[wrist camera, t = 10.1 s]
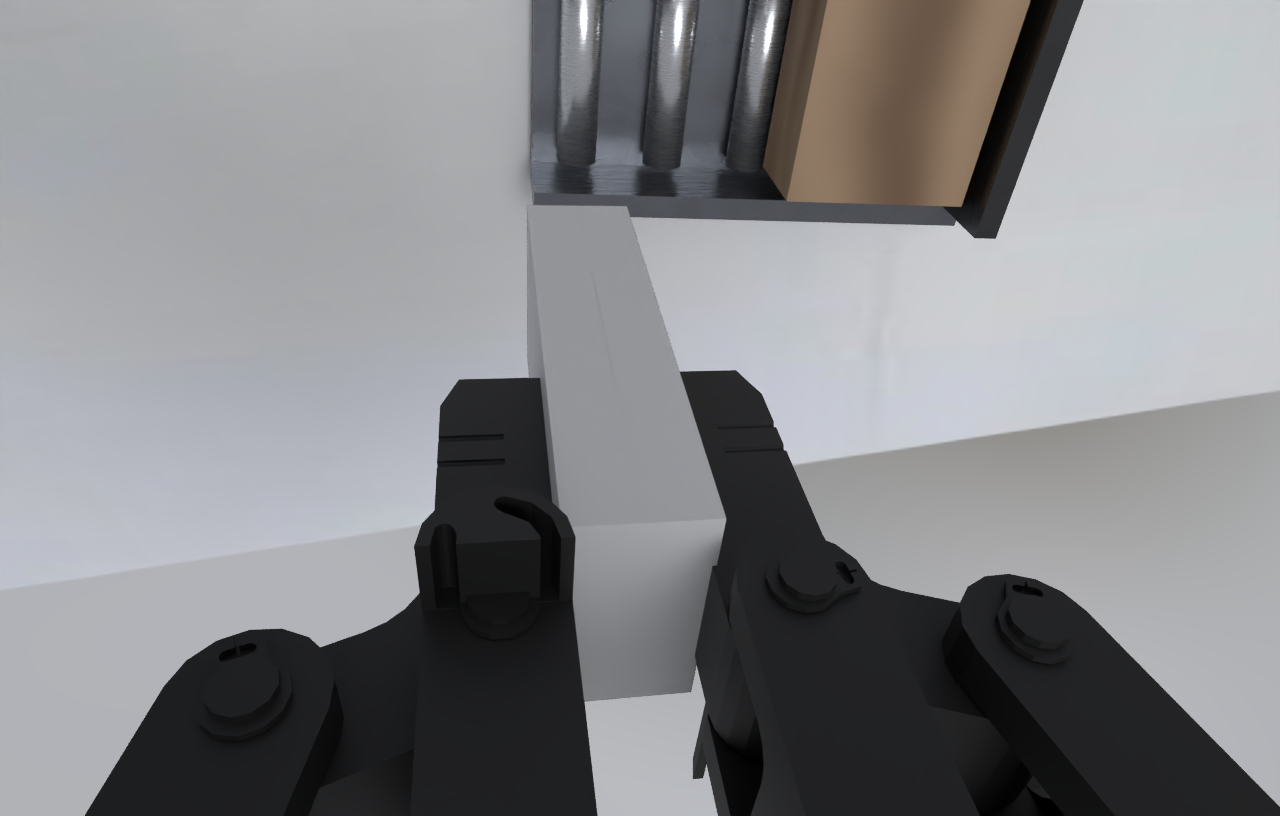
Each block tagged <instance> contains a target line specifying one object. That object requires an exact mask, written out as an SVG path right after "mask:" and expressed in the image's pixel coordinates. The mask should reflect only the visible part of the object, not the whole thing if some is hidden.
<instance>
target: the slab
mask: <svg viewBox="0 0 1280 816" xmlns="http://www.w3.org/2000/svg"><path fill="white" fill-rule="evenodd" d="M1030 1H1031V0H793V3H792V8H791V14H790V19H789V25H788V30H787V36H786V41H785V47H784V53H783V58H782V64H781V69H780V75H779V80H778V86H777V91H776V97H775V102H774V108H773V113H772V119H771V124H770V130H769V136H768V141H767V147H766V152H765V158H764V163H763V167H764V169H765V170H766V172H767V173H768V175H769V176H770V177H771V179H772V180H773V182H774V183H775V185H776V186H777V188H778V189H779V191H780V192H781V194H782V195H783V197H784V198H785V200H786V201H789V202H821V203H854V204H886V205H918V206H951V207H962V204H963V201H964V198H965V195H966V192H967V189H968V186H969V183H970V180H971V177H972V174H973V171H974V168H975V165H976V162H977V159H978V156H979V153H980V150H981V147H982V144H983V141H984V138H985V135H986V132H987V129H988V126H989V123H990V120H991V117H992V114H993V111H994V108H995V105H996V102H997V99H998V96H999V93H1000V90H1001V87H1002V84H1003V81H1004V78H1005V75H1006V72H1007V69H1008V66H1009V63H1010V60H1011V57H1012V54H1013V51H1014V48H1015V45H1016V42H1017V39H1018V37H1019V34H1020V31H1021V28H1022V25H1023V22H1024V19H1025V16H1026V13H1027V10H1028V7H1029V4H1030Z"/></svg>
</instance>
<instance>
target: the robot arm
mask: <svg viewBox="0 0 1280 816" xmlns="http://www.w3.org/2000/svg"><path fill="white" fill-rule="evenodd" d="M527 358H528V370H529V378H505V379H464V380H458V382H457V383H456V385H455V386H454V387H453V389H452V390H451V392H450V393H449V395H448V396H447V397H446V399H445V400H444V402H443V403H442V404H441V406H440V422H439V442H438V458H437V464H438V468H437V477H436V495H435V511H434V512H433V513H432V514H431V515H430V516H429V517H428V518H427V519H426V520H425V521H424V522H423V523H422V525H421V528H420V531H419V534H418V537H417V540H416V543H415V546H414V549H415V557H416V565H417V573H418V581H419V589H420V593H419V595H418V596H417V597H416V598H415V599H414V600H413V601H412V602H411V603H410V604H409V605H408V606H407V607H406V609H405V610H403V611H402V612H400V613H399V614H397V615H396V616H394V617H393V618H392V619H390V620H389V621H387V622H386V623H383V624H381V625H379V626H377V627H375V628H372V629H370V630H368V631H366V632H364V633H361V634H358V635H355V636H352V637H349V638H346V639H343V640H340V641H337V642H335V643H332V644H329V645H326V646H323V647H319V646H318V645H317V644H315V643H314V642H313V641H312V640H311V639H310V638H309V637H306V636H303V635H300V634H297V633H294V632H290V631H287V630H284V629H262V630H248V631H245V632H242V633H239V634H236V635H233V636H230V637H227V638H224V639H221V640H218V641H216V642H214V643H213V644H211V645H210V646H208V647H206V648H205V649H203V650H202V651H200V652H199V653H197V654H196V655H194V656H193V657H192V658H190V659H188V660H187V661H186V662H185V663H184V664H183V665H182V666H181V667H180V669H179V670H178V671H177V672H176V673H175V674H174V676H173V677H172V678H171V679H170V680H169V681H168V682H167V684H166V685H165V686H164V687H163V689H162V691H161V692H160V694H159V695H158V697H157V699H156V700H155V702H154V704H153V705H152V707H151V708H150V710H149V712H148V713H147V715H146V716H145V718H144V720H143V721H142V723H141V725H140V726H139V728H138V730H137V731H136V733H135V734H134V736H133V738H132V739H131V741H130V743H129V744H128V746H127V747H126V749H125V751H124V752H123V754H122V756H121V757H120V759H119V761H118V762H117V764H116V765H115V767H114V769H113V770H112V772H111V774H110V775H109V777H108V778H107V780H106V782H105V783H104V785H103V787H102V788H101V790H100V792H99V793H98V795H97V796H96V798H95V800H94V801H93V803H92V805H91V806H90V808H89V809H88V811H87V813H86V814H85V816H597V808H596V799H595V790H594V782H593V774H592V764H591V756H590V747H589V738H588V730H587V721H586V712H585V703H584V702H585V701H595V700H607V699H618V698H629V697H641V696H651V695H663V694H674V693H686V692H691V689H692V685H693V680H694V675H695V670H696V666H697V668H698V671H699V676H700V680H701V684H702V688H703V693H704V697H705V701H706V703H705V707H704V712H703V716H702V721H701V725H700V730H699V734H698V738H697V743H696V747H695V752H694V756H693V779H699V778H703V776H704V771H705V767H706V763H707V767H708V772H709V777H710V781H711V786H712V790H713V795H714V799H715V804H716V808H717V813H718V816H1280V807H1279V806H1278V805H1277V804H1276V803H1275V802H1274V801H1273V800H1272V799H1271V798H1270V797H1269V796H1268V795H1267V794H1266V793H1265V792H1264V791H1263V790H1262V789H1261V788H1260V787H1259V785H1258V784H1256V782H1255V781H1254V780H1252V779H1251V778H1250V776H1249V775H1248V774H1247V773H1246V772H1245V771H1244V770H1243V769H1242V768H1241V767H1240V766H1239V765H1238V764H1237V763H1236V762H1235V761H1234V760H1233V759H1232V758H1231V757H1230V756H1229V755H1228V754H1227V753H1226V752H1225V751H1224V750H1223V749H1222V748H1221V747H1220V746H1219V745H1218V744H1217V743H1216V742H1215V741H1214V740H1213V739H1212V738H1211V737H1210V736H1209V735H1208V734H1207V733H1206V732H1205V731H1204V730H1203V729H1202V728H1201V727H1200V726H1199V725H1198V724H1197V723H1196V722H1195V721H1194V720H1193V719H1192V718H1191V717H1190V716H1189V715H1188V714H1187V713H1186V711H1184V709H1183V708H1182V707H1181V706H1179V704H1178V703H1176V701H1175V700H1174V699H1173V698H1172V697H1171V696H1170V695H1169V694H1168V693H1167V692H1166V691H1165V690H1164V689H1163V688H1162V687H1161V686H1160V685H1159V684H1158V683H1157V682H1156V681H1155V680H1154V679H1153V678H1152V677H1151V676H1150V675H1149V674H1148V673H1147V672H1146V671H1145V670H1144V669H1143V668H1142V667H1141V666H1140V665H1139V664H1138V663H1137V662H1136V661H1135V660H1134V659H1133V658H1132V657H1131V656H1130V655H1129V654H1128V653H1127V652H1126V651H1125V650H1124V649H1123V648H1122V647H1121V646H1120V645H1119V644H1118V643H1117V642H1116V641H1115V640H1114V639H1113V638H1112V636H1111V635H1110V634H1108V633H1107V631H1106V630H1105V629H1104V628H1102V626H1101V625H1100V624H1099V623H1098V622H1097V621H1096V620H1095V619H1094V618H1092V616H1091V615H1090V614H1089V613H1088V612H1087V611H1086V610H1084V609H1083V608H1082V607H1081V606H1079V605H1078V604H1077V603H1076V602H1074V601H1073V600H1072V599H1071V598H1069V597H1068V596H1067V595H1065V594H1064V593H1063V592H1061V591H1059V590H1057V589H1055V588H1053V587H1050V586H1048V585H1046V584H1044V583H1042V582H1040V581H1038V580H1036V579H1031V578H1026V577H1021V576H1016V575H1011V574H1004V575H995V576H985V577H983V578H982V579H980V580H978V581H977V582H975V583H973V584H972V585H970V586H968V588H967V590H966V592H965V594H964V596H963V598H962V600H961V602H960V603H958V602H953V601H948V600H944V599H939V598H934V597H929V596H924V595H919V594H914V593H909V592H905V591H900V590H897V589H893V588H890V587H887V586H883V585H880V584H878V583H876V582H874V581H872V580H870V578H869V577H868V575H867V574H866V573H865V571H864V570H863V568H862V567H861V566H860V564H859V563H858V561H857V560H856V559H855V558H853V557H852V556H851V555H849V554H848V553H846V552H845V551H844V550H842V549H841V548H840V547H838V546H837V545H836V544H833V543H830V542H828V541H826V540H825V538H824V536H823V535H822V532H821V530H820V528H819V525H818V523H817V521H816V519H815V516H814V514H813V512H812V509H811V507H810V505H809V502H808V500H807V498H806V496H805V493H804V491H803V488H802V486H801V484H800V482H799V479H798V477H797V475H796V472H795V470H794V468H793V465H792V463H791V461H790V458H789V456H788V454H787V452H786V451H784V449H783V442H782V440H781V438H780V435H779V433H778V431H777V428H776V427H774V425H773V424H774V421H773V419H772V417H771V415H770V412H769V410H768V408H767V405H766V403H765V401H764V398H763V396H762V394H761V393H760V392H759V391H758V390H757V389H756V388H754V387H753V386H752V385H751V384H750V383H749V382H748V381H747V380H746V379H745V378H744V377H742V376H741V375H740V374H739V373H738V372H737V371H736V370H732V371H689V372H680V371H679V368H678V365H677V362H676V359H675V356H674V353H673V350H672V346H671V343H670V340H669V337H668V334H667V331H666V328H665V324H664V321H663V318H662V315H661V312H660V309H659V306H658V302H657V299H656V296H655V293H654V290H653V287H652V284H651V281H650V277H649V274H648V271H647V268H646V265H645V262H644V259H643V255H642V252H641V249H640V246H639V243H638V240H637V237H636V234H635V230H634V227H633V224H632V221H631V218H630V215H629V212H628V208H627V206H564V205H527Z"/></svg>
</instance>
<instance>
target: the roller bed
mask: <svg viewBox="0 0 1280 816" xmlns="http://www.w3.org/2000/svg"><path fill="white" fill-rule="evenodd" d="M1083 1H1084V0H1031V1H1030V4H1029V7H1028V10H1027V13H1026V16H1025V19H1024V22H1023V25H1022V28H1021V31H1020V34H1019V37H1018V39H1017V42H1016V45H1015V48H1014V51H1013V54H1012V57H1011V60H1010V63H1009V66H1008V69H1007V72H1006V75H1005V78H1004V81H1003V84H1002V87H1001V90H1000V93H999V96H998V99H997V102H996V105H995V108H994V111H993V114H992V117H991V120H990V123H989V126H988V129H987V132H986V135H985V138H984V141H983V144H982V147H981V150H980V153H979V156H978V159H977V162H976V165H975V168H974V171H973V174H972V177H971V180H970V183H969V186H968V189H967V192H966V195H965V198H964V201H963V204H962V207H951V206H918V205H886V204H854V203H821V202H789V201H786V200H785V198H784V197H783V195H782V194H781V192H780V191H779V189H778V188H777V186H776V185H775V183H774V182H773V180H772V179H771V177H770V176H769V175H768V173H767V172H766V170H765V169H764V167H763V163H764V158H765V152H766V147H767V141H768V136H769V130H770V124H771V119H772V113H773V108H774V102H775V97H776V91H777V86H778V80H779V75H780V69H781V64H782V58H783V53H784V47H785V41H786V36H787V30H788V25H789V19H790V14H791V8H792V3H793V0H533V15H532V102H531V186H532V198H533V205H564V206H627V208H628V212H629V215H630V217H653V218H690V219H727V220H764V221H801V222H838V223H875V224H913V225H950V226H954V225H955V222H956V220H957V221H958V222H959V223H960V224H961V225H962V226H963V227H964V228H965V229H966V230H967V231H968V232H969V233H970V234H971V235H972V236H973V237H974V238H992V239H996V236H997V233H998V231H999V228H1000V225H1001V222H1002V220H1003V217H1004V214H1005V212H1006V209H1007V206H1008V203H1009V201H1010V198H1011V195H1012V193H1013V190H1014V187H1015V185H1016V182H1017V179H1018V176H1019V174H1020V171H1021V168H1022V166H1023V163H1024V160H1025V157H1026V155H1027V152H1028V149H1029V147H1030V144H1031V141H1032V139H1033V136H1034V133H1035V130H1036V128H1037V125H1038V122H1039V120H1040V117H1041V114H1042V112H1043V109H1044V106H1045V103H1046V101H1047V98H1048V95H1049V93H1050V90H1051V87H1052V84H1053V82H1054V79H1055V76H1056V74H1057V71H1058V68H1059V66H1060V63H1061V60H1062V57H1063V55H1064V52H1065V49H1066V47H1067V44H1068V41H1069V38H1070V36H1071V33H1072V30H1073V28H1074V25H1075V22H1076V20H1077V17H1078V14H1079V11H1080V9H1081V6H1082V3H1083Z"/></svg>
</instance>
